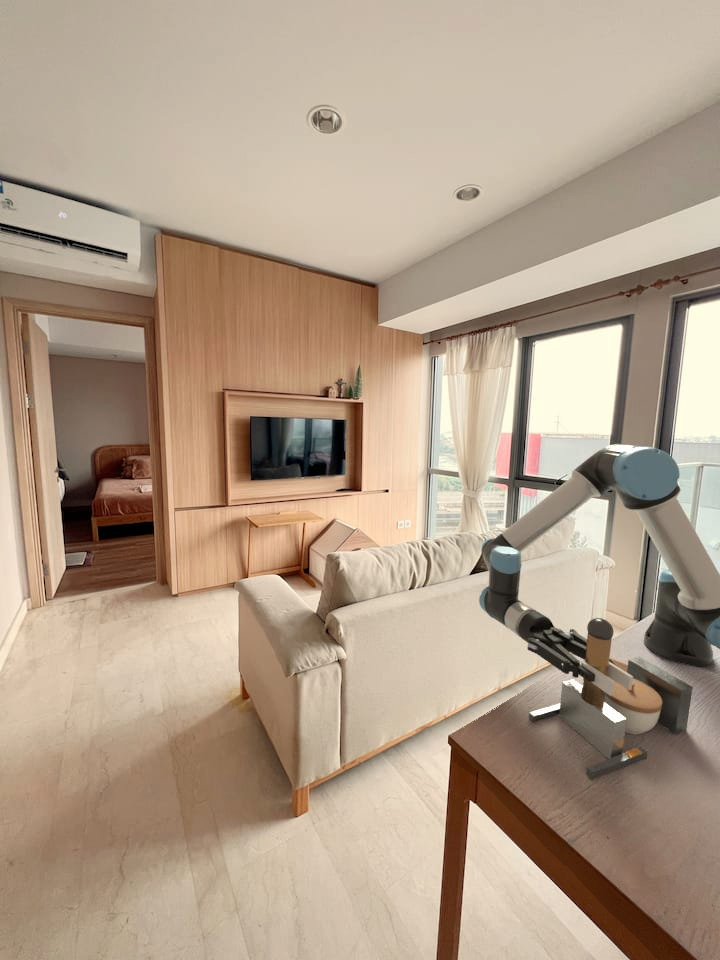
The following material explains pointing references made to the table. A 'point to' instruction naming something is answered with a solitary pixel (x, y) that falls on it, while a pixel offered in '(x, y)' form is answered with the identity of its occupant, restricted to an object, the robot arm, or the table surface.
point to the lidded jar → (636, 706)
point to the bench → (671, 716)
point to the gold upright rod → (594, 697)
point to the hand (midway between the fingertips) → (621, 685)
